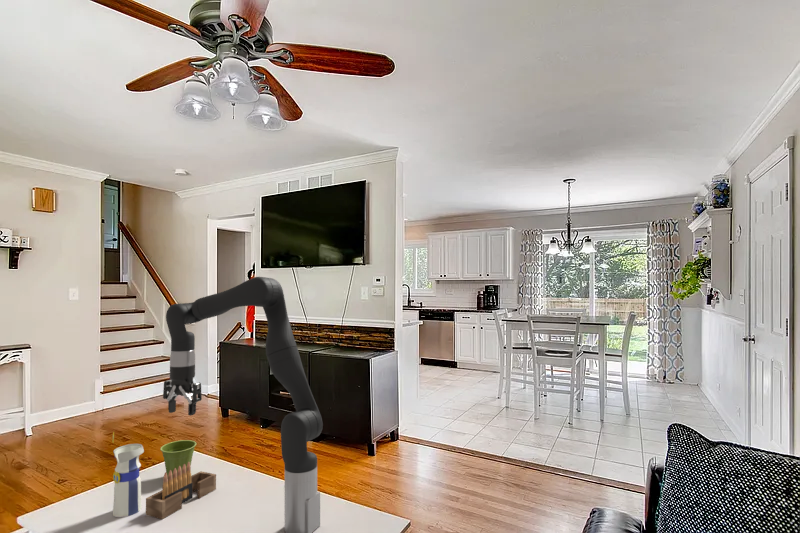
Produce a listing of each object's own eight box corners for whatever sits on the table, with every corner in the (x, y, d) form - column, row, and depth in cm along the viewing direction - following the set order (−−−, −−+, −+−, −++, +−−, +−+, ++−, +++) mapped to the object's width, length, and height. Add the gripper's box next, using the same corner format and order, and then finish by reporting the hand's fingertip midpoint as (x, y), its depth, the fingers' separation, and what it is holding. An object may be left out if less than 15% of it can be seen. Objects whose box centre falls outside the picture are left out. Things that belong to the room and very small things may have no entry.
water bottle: (120, 521, 132) (121, 435, 133) (106, 513, 136) (107, 431, 137) (148, 509, 139) (149, 428, 140) (133, 502, 143) (135, 423, 144)
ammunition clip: (164, 513, 136) (165, 473, 136) (160, 512, 137) (160, 472, 137) (192, 497, 146) (193, 460, 146) (188, 496, 146) (188, 460, 147)
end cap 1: (181, 508, 139) (181, 492, 139) (162, 519, 132) (162, 502, 133) (165, 504, 141) (165, 488, 142) (145, 514, 135) (145, 498, 135)
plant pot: (152, 484, 156) (153, 451, 157) (171, 470, 168) (171, 439, 168) (185, 484, 156) (186, 451, 156) (202, 470, 168) (202, 440, 168)
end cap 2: (183, 494, 148) (184, 479, 148) (200, 485, 154) (200, 471, 155) (199, 498, 145) (199, 482, 145) (216, 489, 152) (216, 474, 152)
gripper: (208, 363, 147) (207, 412, 146) (176, 360, 152) (175, 408, 151) (189, 367, 140) (189, 419, 139) (156, 364, 145) (156, 414, 144)
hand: (181, 413), depth 145 cm, fingers open, 8 cm apart
